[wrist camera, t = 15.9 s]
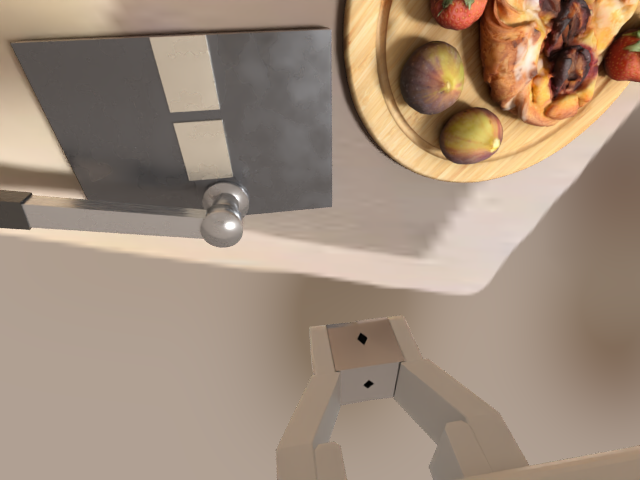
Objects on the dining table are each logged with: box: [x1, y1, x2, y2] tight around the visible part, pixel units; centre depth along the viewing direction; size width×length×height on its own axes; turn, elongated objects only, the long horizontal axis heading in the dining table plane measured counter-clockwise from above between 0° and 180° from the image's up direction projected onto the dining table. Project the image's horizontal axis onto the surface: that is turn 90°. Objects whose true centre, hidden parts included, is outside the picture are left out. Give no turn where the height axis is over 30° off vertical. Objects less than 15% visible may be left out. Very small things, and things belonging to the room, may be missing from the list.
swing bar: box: [0, 190, 243, 247], centre depth 32 cm, size 21×4×2 cm, turn 79°
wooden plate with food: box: [343, 0, 640, 183], centre depth 30 cm, size 32×32×8 cm
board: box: [10, 28, 332, 217], centre depth 33 cm, size 18×26×5 cm
